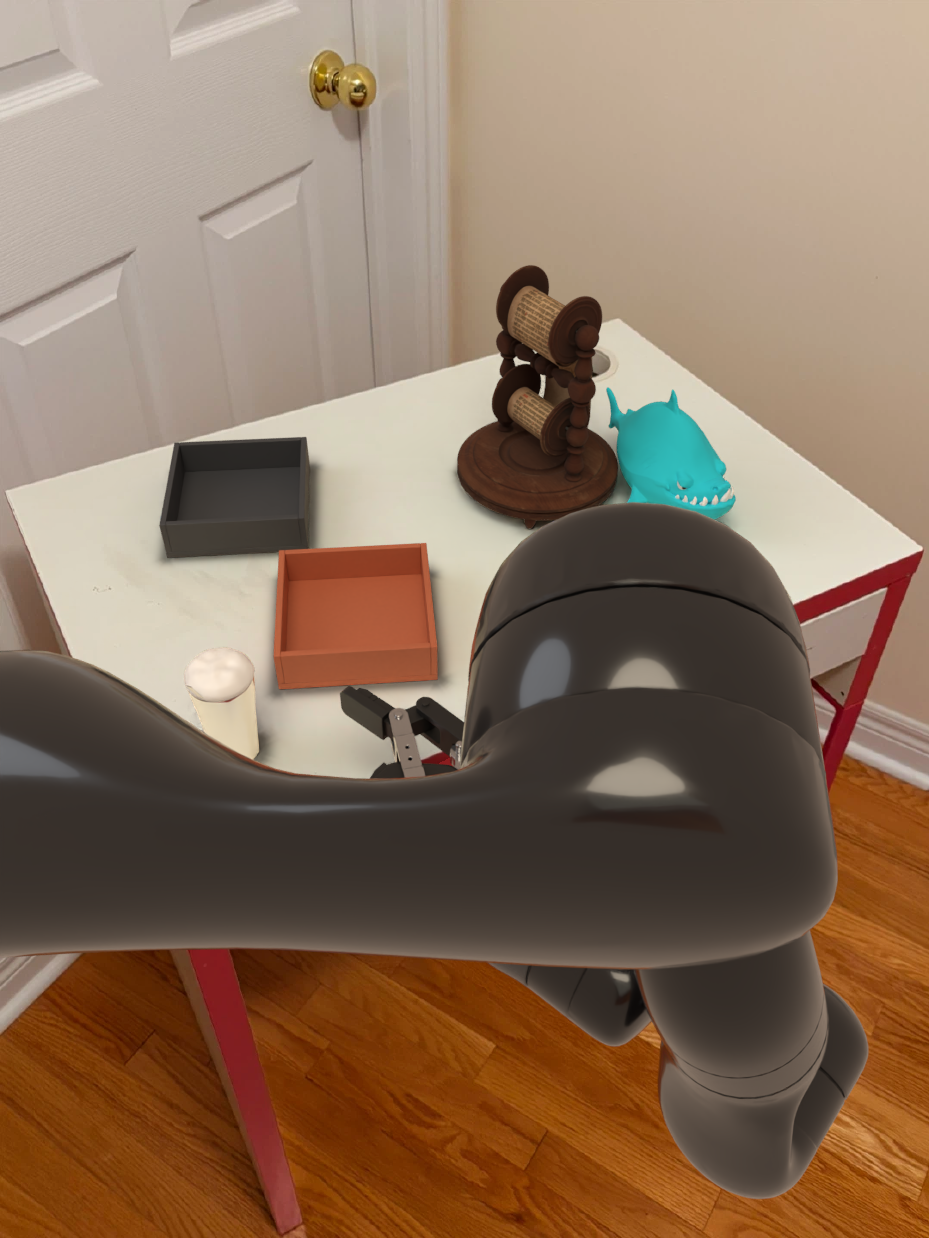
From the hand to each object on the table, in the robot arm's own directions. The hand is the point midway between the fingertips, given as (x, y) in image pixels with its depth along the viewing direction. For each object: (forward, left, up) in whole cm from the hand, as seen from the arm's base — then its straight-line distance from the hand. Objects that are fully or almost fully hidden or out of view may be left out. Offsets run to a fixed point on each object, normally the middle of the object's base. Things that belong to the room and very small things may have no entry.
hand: (295, 736), depth 65 cm
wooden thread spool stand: (+21, +35, -8) cm, 42 cm away
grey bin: (-6, +33, -8) cm, 35 cm away
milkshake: (-5, +5, -8) cm, 11 cm away
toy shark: (+32, +33, -8) cm, 47 cm away
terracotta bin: (+4, +17, -8) cm, 19 cm away
